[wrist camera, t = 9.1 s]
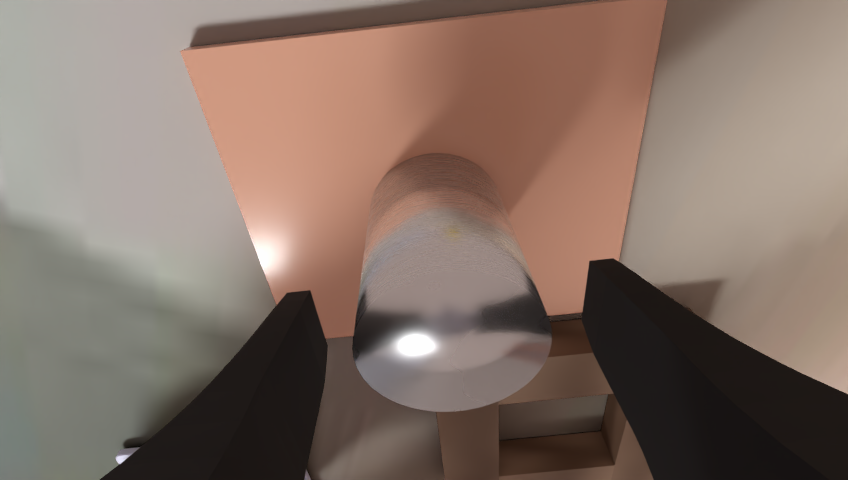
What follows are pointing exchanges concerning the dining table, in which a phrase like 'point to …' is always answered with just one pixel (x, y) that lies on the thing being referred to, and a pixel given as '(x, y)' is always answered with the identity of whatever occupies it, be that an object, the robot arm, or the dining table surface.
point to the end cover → (445, 291)
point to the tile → (434, 134)
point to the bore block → (552, 455)
